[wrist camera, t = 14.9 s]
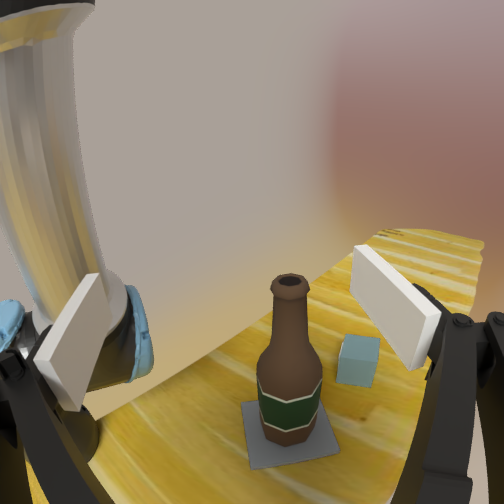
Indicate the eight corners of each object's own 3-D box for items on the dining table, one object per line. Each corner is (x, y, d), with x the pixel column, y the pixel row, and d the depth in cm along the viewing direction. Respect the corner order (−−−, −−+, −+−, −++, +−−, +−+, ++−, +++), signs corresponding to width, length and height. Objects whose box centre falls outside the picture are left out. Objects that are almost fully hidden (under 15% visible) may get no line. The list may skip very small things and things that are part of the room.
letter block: (374, 364, 49) (380, 338, 47) (370, 387, 44) (377, 362, 42) (340, 359, 52) (344, 333, 49) (334, 382, 47) (338, 356, 44)
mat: (250, 470, 33) (250, 467, 32) (241, 405, 44) (240, 402, 43) (339, 452, 34) (340, 450, 34) (316, 393, 45) (316, 390, 45)
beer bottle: (249, 424, 39) (232, 278, 30) (291, 399, 43) (293, 255, 34) (283, 458, 33) (285, 313, 24) (326, 428, 37) (348, 280, 28)
